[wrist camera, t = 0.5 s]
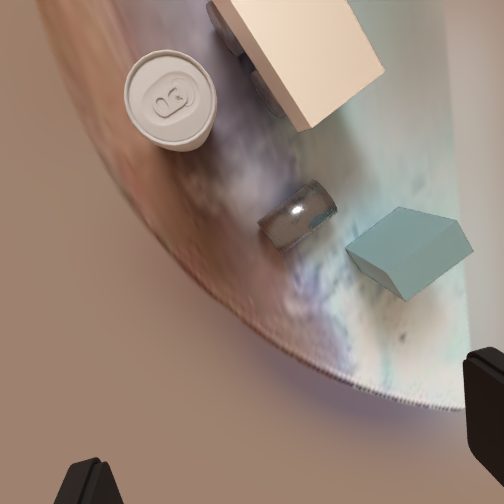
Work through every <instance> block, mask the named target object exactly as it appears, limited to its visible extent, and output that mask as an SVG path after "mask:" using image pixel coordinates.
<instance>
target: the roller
mask: <svg viewBox="0 0 504 504" xmlns="http://www.w3.org/2000/svg"><path fill="white" fill-rule="evenodd" d="M337 212H338V210H337V207H336V205H335V203H334V202H333V200H332V198H331V197H330V196H329V194H328V193H327V192H326V190H325V189H324V188H323V187H322V186H321V185H320V184H319V183H318V182H317V181H315V180H311V181H310V182H309V183H307V184H306V185H305V186H303V187H302V188H301V189H299V190H298V191H297V192H296V193H294V194H293V195H292V196H290V197H289V198H288V199H286V200H285V201H284V202H282V203H281V204H280V205H279V206H277V207H276V208H275V209H273V210H272V211H271V212H269V213H268V214H267V215H266V216H264V217H263V218H262V219H260V220H259V221H258V222H257V223H258V225H259V226H260V228H261V229H262V230H263V232H264V233H265V234H266V236H267V237H268V238H269V240H270V241H271V242H272V244H273V245H274V246H275V247H276V249H277V250H278V251H279V252H280V254H281V255H282V254H284V253H285V252H286V251H288V250H289V249H290V248H292V247H293V246H294V245H296V244H297V243H298V242H300V241H301V240H302V239H303V238H305V237H306V236H307V235H309V234H310V233H311V232H313V231H314V230H315V229H317V228H318V227H319V226H321V225H322V224H323V223H325V222H326V221H327V220H328V219H330V218H331V217H332V216H334V215H335V214H336V213H337Z"/></svg>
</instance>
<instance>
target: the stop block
mask: <svg viewBox="0 0 504 504" xmlns="http://www.w3.org/2000/svg"><path fill="white" fill-rule="evenodd" d="M345 248H346V250H347V251H348V253H349V254H350V256H351V257H352V259H353V260H354V262H355V263H356V265H357V266H358V268H359V269H360V270H361V271H362V272H363V273H365V274H366V275H367V276H369V277H370V278H372V279H373V280H375V281H376V282H378V283H379V284H381V285H382V286H384V287H385V288H386V289H388V290H389V291H391V292H392V293H394V294H395V295H397V296H398V297H400V298H401V299H402V300H404V301H405V302H406V301H407V300H409V299H410V298H411V297H413V296H414V295H416V294H417V293H418V292H420V291H421V290H422V289H424V288H425V287H426V286H428V285H429V284H430V283H432V282H433V281H434V280H436V279H437V278H438V277H440V276H441V275H442V274H444V273H445V272H447V271H448V270H449V269H451V268H452V267H453V266H455V265H456V264H457V263H459V262H460V261H461V260H463V259H464V258H465V257H467V256H468V255H469V254H471V253H472V252H473V249H472V247H471V245H470V243H469V242H468V240H467V238H466V236H465V234H464V232H463V231H462V229H461V227H460V225H459V223H458V222H457V220H453V219H449V218H444V217H440V216H436V215H432V214H427V213H423V212H419V211H415V210H410V209H406V208H402V207H398V208H397V209H396V210H394V211H393V212H392V213H390V214H389V215H388V216H386V217H385V218H384V219H382V220H381V221H380V222H378V223H377V224H376V225H374V226H373V227H372V228H370V229H369V230H368V231H366V232H365V233H364V234H362V235H361V236H360V237H358V238H357V239H356V240H354V241H353V242H352V243H351V244H349V245H348V246H347V247H345Z"/></svg>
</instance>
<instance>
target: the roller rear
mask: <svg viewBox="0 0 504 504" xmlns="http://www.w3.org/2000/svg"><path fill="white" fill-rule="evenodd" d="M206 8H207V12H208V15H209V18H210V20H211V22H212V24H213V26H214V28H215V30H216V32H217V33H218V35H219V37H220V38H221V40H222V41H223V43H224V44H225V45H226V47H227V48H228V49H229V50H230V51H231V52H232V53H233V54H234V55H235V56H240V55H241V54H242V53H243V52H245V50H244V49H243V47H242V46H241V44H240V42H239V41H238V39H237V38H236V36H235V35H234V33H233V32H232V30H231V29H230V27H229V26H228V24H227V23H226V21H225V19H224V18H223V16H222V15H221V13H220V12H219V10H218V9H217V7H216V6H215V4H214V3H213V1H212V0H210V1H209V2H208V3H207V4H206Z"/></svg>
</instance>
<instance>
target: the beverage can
mask: <svg viewBox="0 0 504 504" xmlns="http://www.w3.org/2000/svg"><path fill="white" fill-rule="evenodd" d="M124 103H125V107H126V111H127V115H128V117H129V119H130V121H131V123H132V125H133V127H134V128H135V129H136V130H137V131H138V132H139V133H140V135H141V136H142V137H144V138H145V139H146V140H148V141H149V142H151V143H152V144H154V145H157V146H160V147H163V148H165V149H168V150H172V151H180V152H185V151H192V150H194V149H197V148H199V147H200V146H201V145H202V144H203V143H204V142H205V141H206V139H207V138H208V136H209V133H210V131H211V128H212V126H213V123H214V120H215V117H216V114H217V96H216V90H215V87H214V84H213V82H212V80H211V78H210V76H209V74H208V73H207V72H206V71H205V69H204V68H203V67H202V66H201V65H200V64H199V63H198V62H197V61H195V60H194V59H193V58H191V57H190V56H188V55H186V54H183V53H181V52H179V51H172V50H161V51H154V52H152V53H150V54H148V55H146V56H143V57H142V58H141V59H140V60H139V61H138V62H137V63H136V64H134V66H133V67H132V69H131V71H130V72H129V74H128V76H127V80H126V83H125V87H124Z"/></svg>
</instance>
